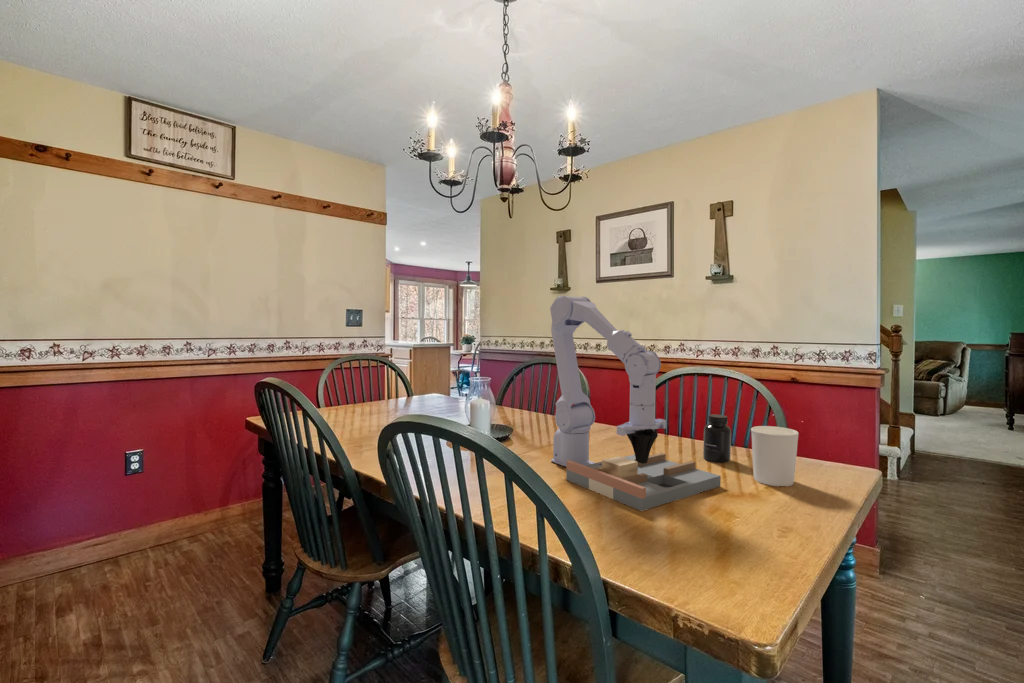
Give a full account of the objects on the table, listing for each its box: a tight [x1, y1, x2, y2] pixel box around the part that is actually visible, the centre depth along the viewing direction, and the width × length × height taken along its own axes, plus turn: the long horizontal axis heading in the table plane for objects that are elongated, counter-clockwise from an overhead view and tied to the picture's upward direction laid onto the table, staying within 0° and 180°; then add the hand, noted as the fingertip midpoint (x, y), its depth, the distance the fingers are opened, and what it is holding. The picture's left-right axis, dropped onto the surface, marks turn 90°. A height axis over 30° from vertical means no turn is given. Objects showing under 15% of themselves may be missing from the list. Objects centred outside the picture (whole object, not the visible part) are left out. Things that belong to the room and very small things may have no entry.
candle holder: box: [750, 425, 800, 487], centre depth 113 cm, size 10×10×12 cm
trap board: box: [565, 452, 722, 512], centre depth 112 cm, size 23×26×4 cm
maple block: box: [601, 455, 638, 479], centre depth 107 cm, size 6×6×4 cm
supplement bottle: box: [702, 414, 732, 464], centre depth 131 cm, size 7×7×12 cm
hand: (641, 462), depth 112 cm, fingers closed
